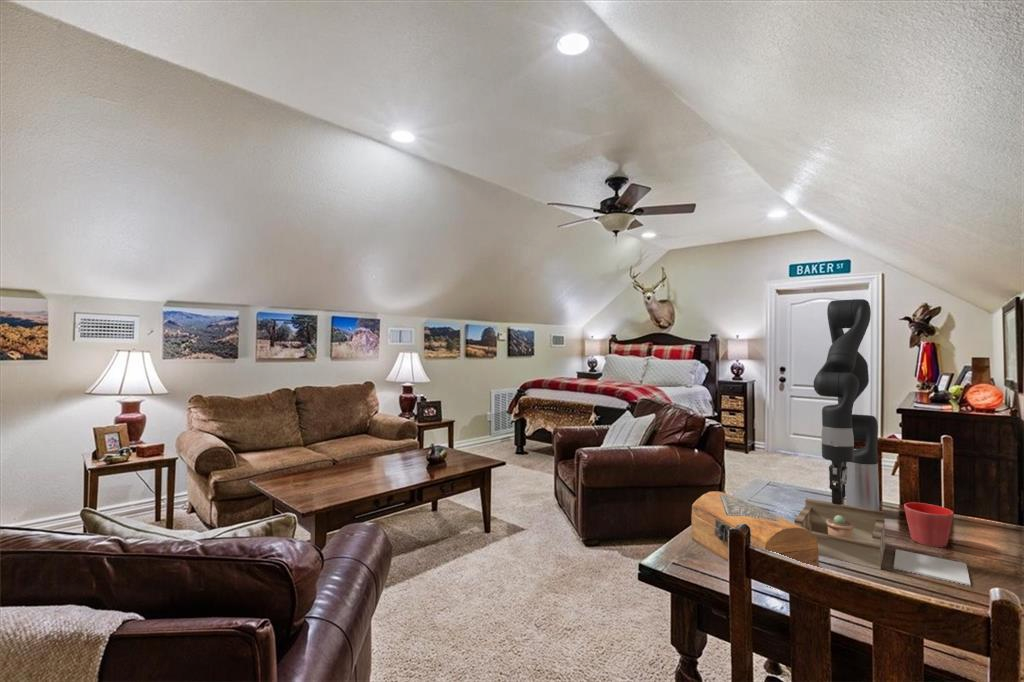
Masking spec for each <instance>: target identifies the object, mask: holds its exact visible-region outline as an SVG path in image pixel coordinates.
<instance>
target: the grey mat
mask: <svg viewBox="0 0 1024 682" xmlns="http://www.w3.org/2000/svg"><path fill="white" fill-rule="evenodd" d="M893 569H894V570H897V569H898V570H897V571H901V570H902V571H901V572H905V571H906V572H905V573H910V572H912V573H911V574H914V573H916V574H915V575H919V574H920V575H919V576H924V577H927V578H932V579H937V580H940V579H941V581H945V580H946V582H949V581H951V582H950V583H953V582H955V583H954V584H958V583H960V584H959V585H962V584H965V585H964V586H967V585H969V586H968V587H971V580H970V575H969V571H968V567H967V563H964V562H959V561H956V560H955V561H954V560H951V559H950V560H949V559H947V558H946V559H945V558H941V557H936V556H930V555H926V554H921V553H917V552H916V553H915V552H910V551H907V550H901V549H897V548H896V549H895V555H894V562H893Z"/></svg>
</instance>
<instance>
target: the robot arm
mask: <svg viewBox="0 0 1024 682" xmlns="http://www.w3.org/2000/svg"><path fill="white" fill-rule="evenodd" d="M826 315H827V321H828V327H829V333H830V337H831V338H830V339H831V345H830V347H829V349H828V353H827V356H826V360H825V363H824V364H823V365H822V367H821V368H820V370H818V371H817V374H816V375H815V378H814V379H813V388H814V391H815V393H816V394H817V395H819V396H820V397H827V398H829V397H830V398H837V404H829V405H825V406H823V407H822V409H821V421H822V422H821V425H822V427H821V457H822V458H823V460H827V461H830V462H831V464H830V465H829V466H828V473H829V478H828V480H829V486H828V487H829V489H830V490H831V503H833V504H837V505H841V504H842V503H843V500H842V499H844V498H845V505H848V506H854V507H860V508H866V509H872V510H878V511H880V490H879V489H880V488H879V487H880V486H879V485H880V484H879V458H878V457H879V456H878V455H879V454H878V441H879V440H878V438H879V437H878V436H879V424H878V420H877V417H876V416H874V415H868V414H854V413H853V409H854V405H855V404H854V403H855V401H856V400H857V399H858V398H859V397H860V396H861V395H862V393H863V392H864V391H865V389H866V388H867V387H868V386H869V381H870V379H869V377H870V375H869V366H868V365H869V364H868V362H867V361H866V359H865V358H864V356H863V355H862V354H861V353H860V352H859V351H858V350H859V348H860V347H861V343H862V341H863V340H864V339H863V338H864V336H865V335H866V332H867V330H868V328H869V325H870V322H871V315H872V312H871V305H870V302H869V301H868V300H866V299H861V298H860V299H859V298H856V299H853V298H852V299H839V300H836V299H835V300H831V301H830V302H829V303H828V305H827V311H826ZM843 329H848V330H847V331H846V332H844V330H843ZM855 442H860V443H861V442H862V443H865V445H864V446H861V447H859V448H856V449H855ZM842 505H843V504H842Z"/></svg>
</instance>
